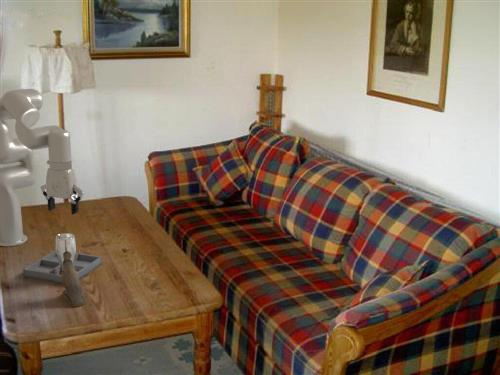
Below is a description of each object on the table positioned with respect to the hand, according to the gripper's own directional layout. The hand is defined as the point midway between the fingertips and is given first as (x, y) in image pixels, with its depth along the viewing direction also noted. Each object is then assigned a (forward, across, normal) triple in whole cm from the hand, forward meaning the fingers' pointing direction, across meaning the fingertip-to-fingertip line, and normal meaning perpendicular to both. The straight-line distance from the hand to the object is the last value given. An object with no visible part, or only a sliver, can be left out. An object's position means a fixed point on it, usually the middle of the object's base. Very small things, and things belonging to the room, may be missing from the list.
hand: (63, 211), depth 229 cm
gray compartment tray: (+25, -3, +2) cm, 25 cm away
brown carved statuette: (+25, +14, -16) cm, 33 cm away
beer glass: (+24, +2, -2) cm, 24 cm away
